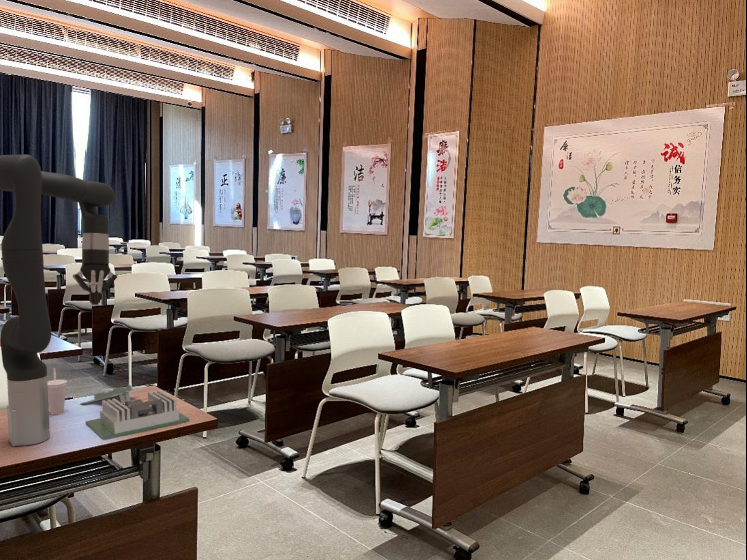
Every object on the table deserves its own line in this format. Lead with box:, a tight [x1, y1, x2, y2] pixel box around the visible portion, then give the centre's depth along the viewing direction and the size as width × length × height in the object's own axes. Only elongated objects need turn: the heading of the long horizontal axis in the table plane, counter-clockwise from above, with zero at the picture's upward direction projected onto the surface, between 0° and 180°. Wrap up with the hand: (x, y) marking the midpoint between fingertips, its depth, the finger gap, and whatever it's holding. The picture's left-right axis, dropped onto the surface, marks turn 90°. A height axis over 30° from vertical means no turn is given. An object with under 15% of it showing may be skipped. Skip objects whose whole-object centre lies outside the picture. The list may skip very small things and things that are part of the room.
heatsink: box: [85, 390, 190, 441], centre depth 172 cm, size 24×17×8 cm
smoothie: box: [47, 367, 68, 416], centre depth 181 cm, size 6×6×14 cm
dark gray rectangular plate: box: [124, 399, 153, 414], centre depth 171 cm, size 4×1×12 cm
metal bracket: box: [79, 384, 137, 406], centre depth 194 cm, size 14×6×15 cm
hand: (95, 304), depth 182 cm, fingers closed
